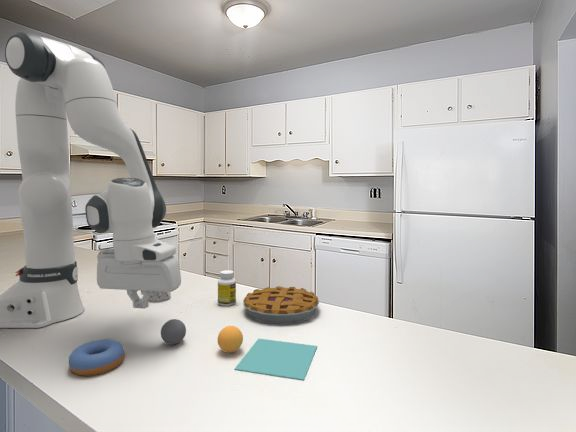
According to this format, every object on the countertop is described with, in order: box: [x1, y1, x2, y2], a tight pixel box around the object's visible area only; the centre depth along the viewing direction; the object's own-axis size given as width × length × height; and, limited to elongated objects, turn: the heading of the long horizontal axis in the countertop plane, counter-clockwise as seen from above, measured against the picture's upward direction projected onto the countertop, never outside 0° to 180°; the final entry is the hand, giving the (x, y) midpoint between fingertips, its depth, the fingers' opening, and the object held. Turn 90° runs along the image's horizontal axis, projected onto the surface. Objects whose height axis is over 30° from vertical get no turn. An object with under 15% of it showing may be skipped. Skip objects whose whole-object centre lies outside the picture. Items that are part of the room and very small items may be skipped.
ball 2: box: [217, 325, 244, 353], centre depth 77 cm, size 6×6×6 cm
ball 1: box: [160, 318, 187, 345], centre depth 81 cm, size 6×6×6 cm
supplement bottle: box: [217, 269, 237, 307], centre depth 107 cm, size 5×5×10 cm
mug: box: [148, 291, 172, 303], centre depth 113 cm, size 10×7×7 cm, turn 26°
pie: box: [242, 286, 320, 324], centre depth 102 cm, size 22×22×5 cm
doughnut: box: [68, 338, 126, 377], centre depth 72 cm, size 10×10×5 cm
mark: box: [234, 338, 318, 381], centre depth 75 cm, size 14×14×1 cm
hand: (141, 307), depth 83 cm, fingers closed
